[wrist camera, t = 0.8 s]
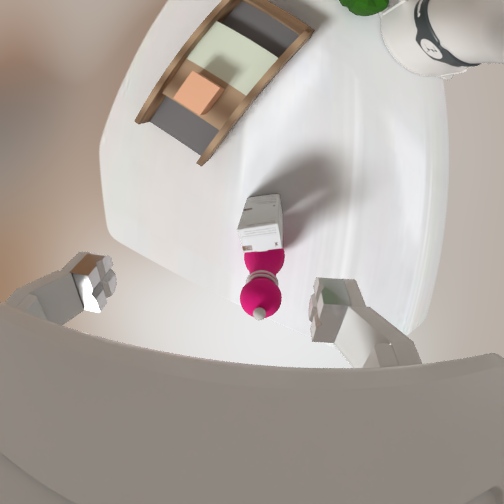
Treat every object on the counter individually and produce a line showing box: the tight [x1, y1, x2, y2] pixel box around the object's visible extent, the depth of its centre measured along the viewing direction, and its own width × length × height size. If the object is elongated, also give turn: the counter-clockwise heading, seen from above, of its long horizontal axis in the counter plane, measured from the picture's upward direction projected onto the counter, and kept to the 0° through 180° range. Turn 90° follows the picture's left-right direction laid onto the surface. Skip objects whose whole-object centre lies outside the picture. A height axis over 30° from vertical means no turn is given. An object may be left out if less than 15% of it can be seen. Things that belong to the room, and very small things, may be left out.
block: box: [173, 71, 225, 115], centre depth 35 cm, size 5×5×4 cm
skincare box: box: [237, 194, 283, 253], centre depth 44 cm, size 6×4×12 cm
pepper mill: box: [240, 248, 285, 320], centre depth 44 cm, size 7×7×20 cm
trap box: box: [135, 0, 314, 166], centre depth 35 cm, size 28×14×5 cm, turn 143°
